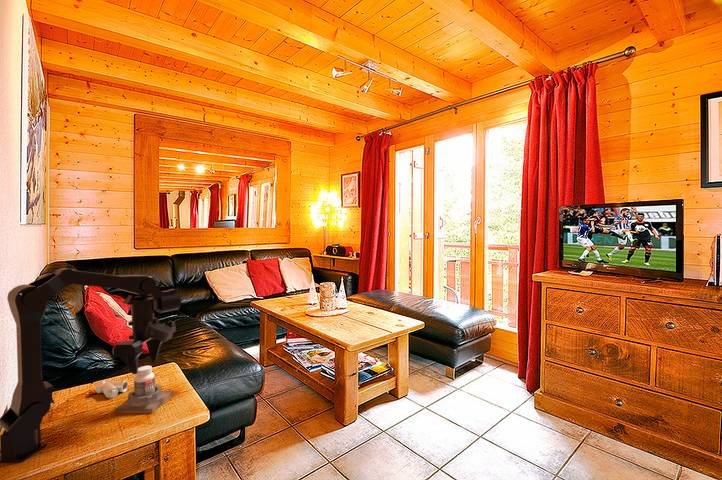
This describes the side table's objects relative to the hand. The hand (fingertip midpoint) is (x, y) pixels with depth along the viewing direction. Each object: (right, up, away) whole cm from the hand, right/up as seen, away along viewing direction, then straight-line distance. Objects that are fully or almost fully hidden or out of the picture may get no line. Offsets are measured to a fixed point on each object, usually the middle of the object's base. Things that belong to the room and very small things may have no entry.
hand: (145, 367), depth 104 cm
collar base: (0, -11, 0) cm, 11 cm away
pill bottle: (0, -10, 0) cm, 10 cm away
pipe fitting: (-16, -12, +6) cm, 20 cm away
